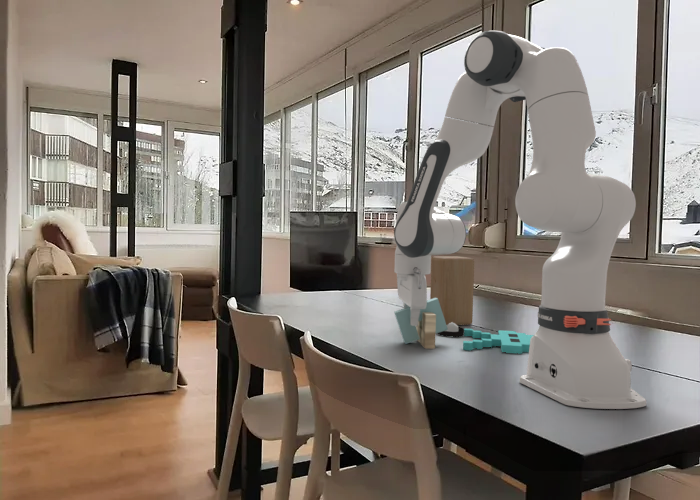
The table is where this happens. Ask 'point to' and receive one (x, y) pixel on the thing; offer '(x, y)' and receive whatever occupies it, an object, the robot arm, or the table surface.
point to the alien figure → (498, 341)
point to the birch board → (427, 330)
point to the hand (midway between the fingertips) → (410, 322)
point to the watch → (452, 331)
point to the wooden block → (453, 287)
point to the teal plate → (410, 331)
